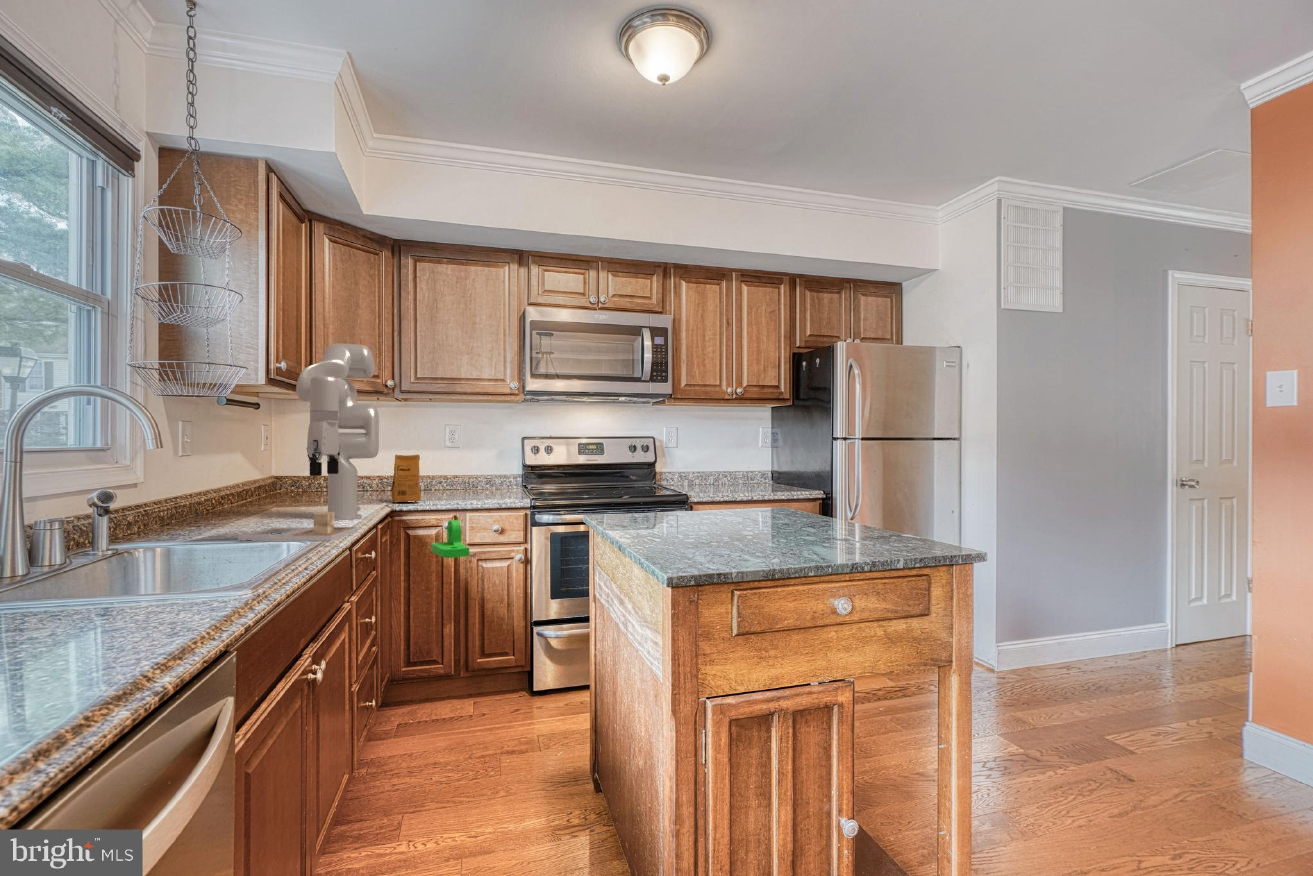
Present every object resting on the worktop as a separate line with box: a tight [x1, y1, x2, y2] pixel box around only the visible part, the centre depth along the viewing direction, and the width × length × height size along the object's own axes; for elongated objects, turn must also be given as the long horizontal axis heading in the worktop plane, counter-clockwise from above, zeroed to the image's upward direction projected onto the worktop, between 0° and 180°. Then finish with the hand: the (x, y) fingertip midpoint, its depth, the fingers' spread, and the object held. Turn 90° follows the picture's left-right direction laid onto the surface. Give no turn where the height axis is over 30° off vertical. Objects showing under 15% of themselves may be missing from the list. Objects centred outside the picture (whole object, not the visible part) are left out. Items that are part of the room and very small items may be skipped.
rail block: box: [237, 526, 358, 542], centre depth 177 cm, size 16×26×2 cm, turn 92°
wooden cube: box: [313, 511, 335, 534], centre depth 178 cm, size 4×4×7 cm
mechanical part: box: [430, 519, 470, 559], centre depth 152 cm, size 12×6×8 cm, turn 35°
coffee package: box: [390, 454, 422, 502], centre depth 275 cm, size 10×12×22 cm
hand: (324, 474), depth 178 cm, fingers open, 9 cm apart
